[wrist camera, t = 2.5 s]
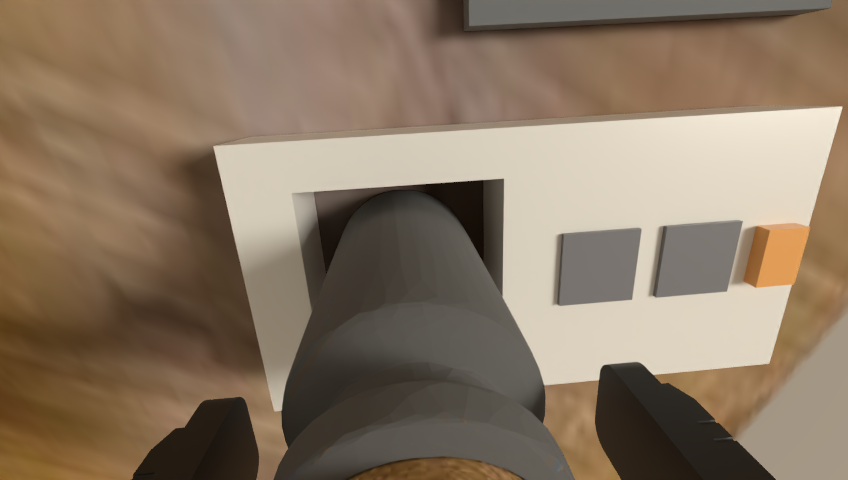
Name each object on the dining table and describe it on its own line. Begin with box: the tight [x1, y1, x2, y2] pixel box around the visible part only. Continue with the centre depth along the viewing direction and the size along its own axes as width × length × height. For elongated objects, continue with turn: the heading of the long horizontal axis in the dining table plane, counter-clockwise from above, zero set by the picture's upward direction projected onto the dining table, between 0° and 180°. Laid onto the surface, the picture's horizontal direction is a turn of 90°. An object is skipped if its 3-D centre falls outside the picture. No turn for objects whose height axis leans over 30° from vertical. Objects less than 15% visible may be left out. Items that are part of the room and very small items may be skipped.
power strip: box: [213, 105, 842, 411], centre depth 17 cm, size 22×11×4 cm, turn 93°
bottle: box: [274, 190, 575, 480], centre depth 11 cm, size 6×6×15 cm
